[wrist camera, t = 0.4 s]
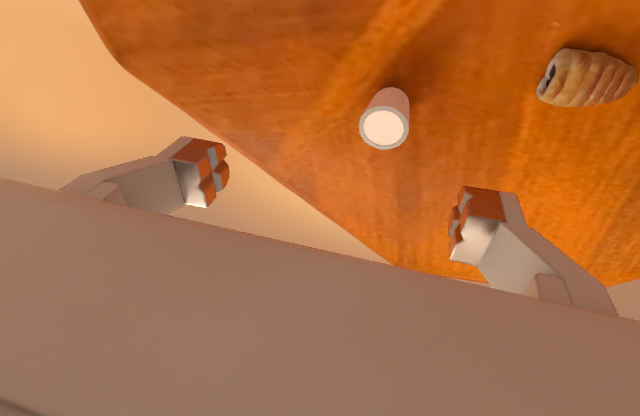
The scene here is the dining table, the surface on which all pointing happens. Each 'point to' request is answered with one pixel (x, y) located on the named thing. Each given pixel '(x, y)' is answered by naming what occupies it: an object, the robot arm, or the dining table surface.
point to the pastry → (585, 79)
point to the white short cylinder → (386, 119)
